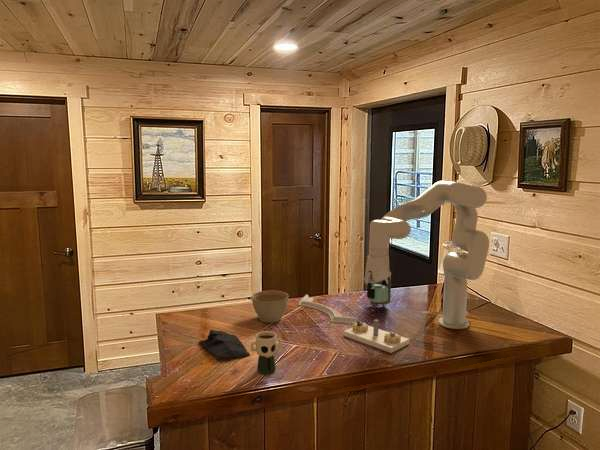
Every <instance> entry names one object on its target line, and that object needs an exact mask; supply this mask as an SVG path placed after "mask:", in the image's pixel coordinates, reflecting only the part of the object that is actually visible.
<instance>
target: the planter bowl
mask: <svg viewBox="0 0 600 450" xmlns="http://www.w3.org/2000/svg"><path fill="white" fill-rule="evenodd" d="M251 300H252V307H253V309H254V311H255V313H256V315H257V316H258V318H259V320H260V322H262V323H269V324H271V323H277V322H280V321H281V320H282V317H283V315H284V314H285V313H286V310H287V307H288V303H289V302H288V301H289V294H288V293H287V292H284V291H281V290H262V291H257V292H256V293H254V294H252V295H251Z"/></svg>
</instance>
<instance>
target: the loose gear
mask: <svg viewBox="0 0 600 450" xmlns="http://www.w3.org/2000/svg"><path fill="white" fill-rule="evenodd" d="M374 289H375V297H374V299H371V298H367V300H368V301H369V302H370V301H373V302H385V301H387V300H388V287H386V286H385V285H381V284H380V285H378V284H375V286H374Z"/></svg>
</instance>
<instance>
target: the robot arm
mask: <svg viewBox="0 0 600 450" xmlns="http://www.w3.org/2000/svg"><path fill="white" fill-rule="evenodd" d="M487 199H488V195H487V192H486V191H485V189H484V188H483V187H480V186H475V185H471V184H466V183H463V182H462V183H461V182H458V181H448V180H446V181H445V180H439V181H437V182H435V183H434V184H432V185H431V186H429V187H428V188H427V189H426V190H425V191H423V192H422V193H421V194H420V195H418V196H416V198H415V199H412V200H410V201H407V202H405V203H403V204H400V205H398V206H396V207H394V208H393V209H391V210H389V211H388V212H387V213H386V214H385V215H383V217H381V219H374V220H371V221H370V223H369V238H368V239H369V242H368V245H369V246H368V255H367V259H366V262H365V263H366V264H365V272H364V273H365V275H364V279H363V282H364V285H365V287H366V288H367V289H366V298H367V299H368V298H371V299H374V297H375V289H374V286H375V283H376V282H379V281H381V283H380V284H381V285H385V286H386V287H388V285H387V284H388V283H389V282H388V281H389V279H390V276H391V275H392V272H391V270H390V258H389V257H390V256H389V253H390V252H389V250H390V239H392V240H393V239H395V240H404V239H405V238H407V237H408V236H410V234H411V230H412V229H411V225H410V224H409V223H408V221H411V220H416V219H422V218H426V217H429V216H430V215H432V213H434V212H435V211H436V210H438V209H439V208H440V207H441V206H443V205H444V204H446V203H447V204H451V205H453V207H454V210H455V211H456V216H455V217H456V218H455V222H454V228H453V232H452V235H451V245H452V246H453V247H454V248H455V249H458V250H461V251H463V252H467V254H466V253H463V252H462V253H461V252H458V251H451V252H448V253H447V254H446V255H445V256H444V257H443V260H442V270H443V276H444V280H443V281H444V282H443V283H444V284H443V297H442V300H443V301H442V316H441V317H440V318H439V319H438V325H440V326H442V327H444V328H447V329H453V330H463V329H467V328H468V327H469V326H470V323H469V321H468V320H467V318H466V317H467V316H469V311H467V304H468V303H467V302H468V301H467V298H468V280H469V281H476V280H478V279H479V278H480V277H481V276H483V275H482V274H483V272H484V270H485V265H486V262H487V258H488V253H489V250H490V249H489V248H490V241H489V237H488V235H487V233H486V232H484V231H482V230H478V229H477V223H478V220H479V219H478V218H479V216H478V211H477V209H478V208H481V207H482V206H484V205H485V204H486V202H487ZM372 279H373V281H372ZM371 282H372V285H371V284H370V283H371Z"/></svg>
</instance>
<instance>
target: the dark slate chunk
mask: <svg viewBox="0 0 600 450" xmlns="http://www.w3.org/2000/svg"><path fill="white" fill-rule="evenodd" d="M199 344H200V345H201V346H202V348H204V349H205V350H206V351H208V352H209V353H210V354H211V355H213V357H215V358H216V359H218V360H220V361H221V360H228V359H229V360H230V359H238V358H246V357H249V356H251V354H250V352H249V351H248V350H247V348H246V346H245V345H244V344H243V342H242V341H241V340H240V339H239V337H237V335H235V334H231V333H228V332H226V331H223V330H215V329H210V330H209V334H208V336H207V338H206V339H203V340H199Z"/></svg>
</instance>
